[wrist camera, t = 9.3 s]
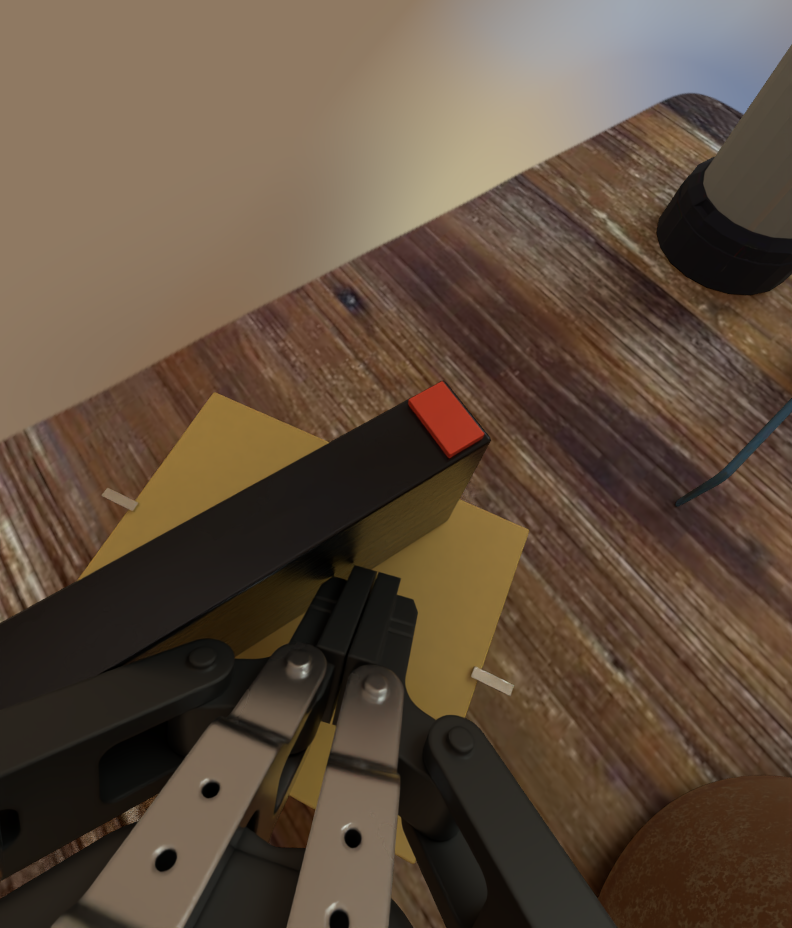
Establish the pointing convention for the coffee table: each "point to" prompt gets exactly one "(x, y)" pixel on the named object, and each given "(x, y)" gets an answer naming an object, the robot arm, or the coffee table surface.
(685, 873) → the planter
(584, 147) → the coffee table surface
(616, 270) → the coffee table surface
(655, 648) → the coffee table surface
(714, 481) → the sunglasses
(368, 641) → the robot arm
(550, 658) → the coffee table surface
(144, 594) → the block
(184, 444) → the plate
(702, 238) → the humidifier
